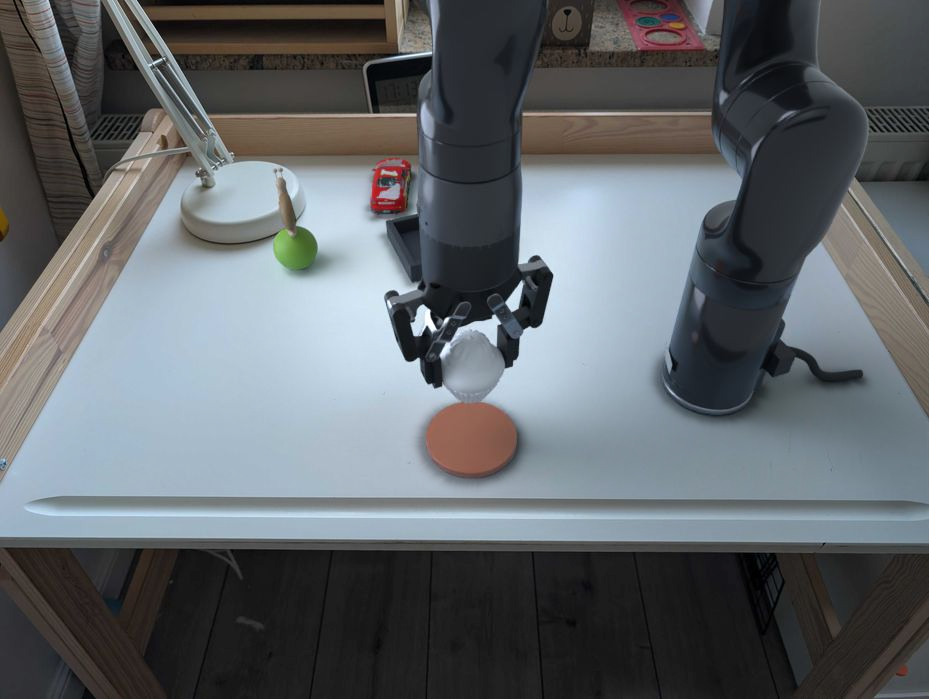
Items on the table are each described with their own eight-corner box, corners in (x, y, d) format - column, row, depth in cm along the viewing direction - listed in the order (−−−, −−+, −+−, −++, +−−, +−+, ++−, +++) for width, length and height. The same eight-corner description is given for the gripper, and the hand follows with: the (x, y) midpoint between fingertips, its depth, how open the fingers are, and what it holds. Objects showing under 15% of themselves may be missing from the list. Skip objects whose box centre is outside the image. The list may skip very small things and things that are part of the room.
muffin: (509, 372, 68) (512, 317, 63) (496, 421, 63) (498, 366, 58) (445, 362, 69) (443, 307, 64) (428, 409, 64) (425, 354, 59)
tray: (467, 217, 99) (467, 202, 97) (497, 261, 92) (498, 245, 90) (387, 236, 96) (385, 220, 94) (411, 282, 89) (410, 266, 87)
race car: (378, 169, 108) (375, 145, 105) (414, 170, 108) (412, 145, 105) (366, 219, 99) (363, 194, 96) (406, 219, 98) (403, 194, 96)
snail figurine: (315, 244, 95) (299, 163, 86) (324, 273, 90) (308, 190, 82) (274, 252, 93) (254, 171, 85) (281, 282, 89) (260, 199, 81)
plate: (495, 396, 75) (495, 391, 75) (531, 461, 69) (532, 456, 69) (414, 421, 73) (413, 415, 72) (444, 490, 67) (443, 485, 66)
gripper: (390, 264, 48) (406, 424, 60) (581, 219, 52) (561, 378, 63) (361, 206, 53) (381, 364, 65) (537, 169, 57) (526, 325, 68)
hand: (470, 370), depth 64 cm, fingers closed on muffin, 6 cm apart
